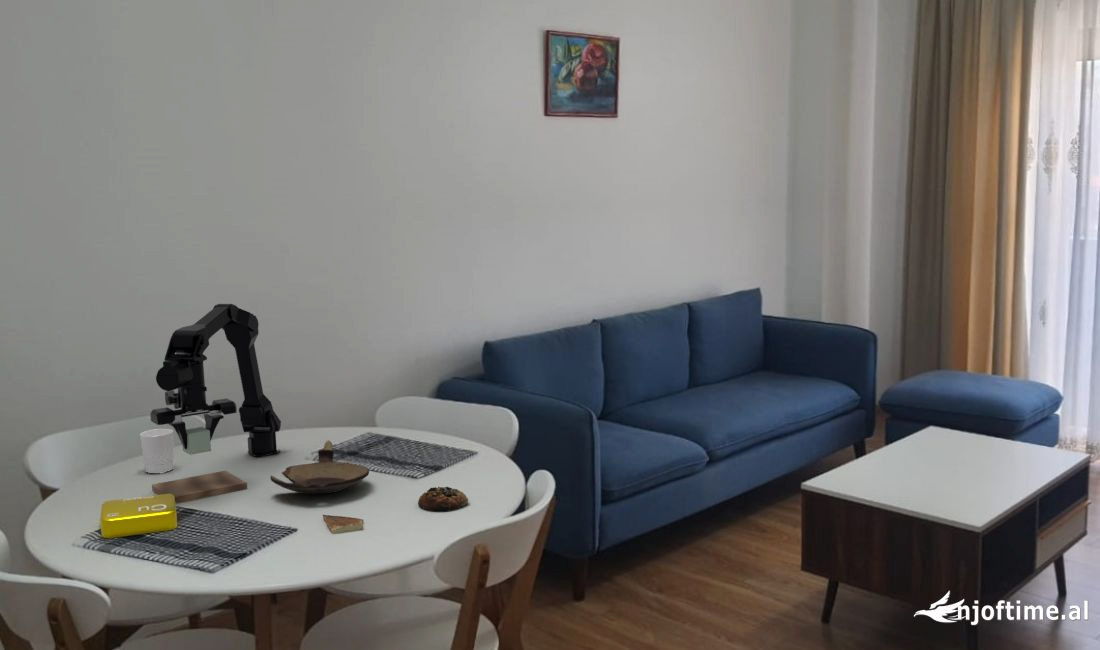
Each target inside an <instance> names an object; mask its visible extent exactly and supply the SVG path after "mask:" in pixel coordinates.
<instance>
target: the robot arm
mask: <svg viewBox="0 0 1100 650" xmlns="http://www.w3.org/2000/svg"><path fill="white" fill-rule="evenodd" d="M221 329H222V330H223V331H224V335H225V338H226V340H227V341H228V343H229V344H230V345H231V346H232V347H233V348H234V351H235V356H236V361H237V366H238V371H239V376H240V382H241V388H242V393H243V398H244V399H243V401H242V403H241V406H239V407H238V412H239V417H240V418H239V419H240V421H239V422H240V424H241V426H242V430H243V433H248V437H247V450H248V451H247V453H248V454H250V455H251V456H254V457H256V458H259V457H265V456H269V455H275V454H279V453H280V450H278V449H277V447H278V446H277V434H276V433H277V432H280V430H281V425H282V420H281V419H280V418H279V417H278V415H277V413H276V412H275V410H274V408H273V404H272V401H270V400H269V397H267V396H266V395H265V394H264V391H263V384H262V380H261V374H260V368H259V363H258V358H257V351H256V348H255V342H256V340H257V338H258V335H259V320H258V318H257V315H254V314H253V313H251V312H249V311H247V310H245V309H242V308H240V307H238V306H237V305H236V304H233V303H217V304H215V305H214V306H213V308H212V309H211V310H210V311H208V312H207V313H206V314H205V315H203V316H202V317H201V318H200V319H198V321H196V322H195V323H194V324H192V325H191V324H190V325H187V326H182V327H180V328H177V329H175V330H174V331H173V332H172V335H171V336H170V339H169V343H168V346H167V349H166V353H165V356H164V361H163V362H162V367H160V368H159V369H158V370H157V373H156V375H155V381H156V383H157V385H158V387H159V388H160V389H161V390H163V391H165V392H164V400H165V405H166V406H174V409H172V408H170V407H161V408H154V409H152V410H151V411H150V422H152V423H154V424H156V425H157V426H162V425H168V426H170V427H172V428H173V429H174V431H175V432H176V434H177V436H178V439H179V441H180V444H181V445H182V448H183V447H184V449H187V436H186V429H187V428H186V422H184V421H183V418H185V417H191V416H198V415H203V418H204V422H205V423H204V424H205V425H204V426H205V427H204V428H206V429H208V430H210V443H212V438H213V435H214V433H215V430H216V428H217V426H218V424H219V422H220V420H222V419H224V416H225V415H232V414H236V413H237V404H236V402H235V401H233V400H231V399H229V398H221V399H215V400H212V402H211V404H208V403H207V396H206V392H207V391H208V388H207V386H206V384H205V383H206V382H205V371H204V370H205V368H204V361H207V360H208V357H207V356H206V355H205V354H204V352H205V351H206V349H207V348H208V347H209V346H210V338H212V337H213V336H214V335H215V334H216V333H217V332H219V331H220V330H221ZM175 390H177V393H176V391H175ZM222 414H223V415H222Z"/></svg>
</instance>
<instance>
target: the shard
mask: <svg viewBox="0 0 1100 650" xmlns="http://www.w3.org/2000/svg"><path fill="white" fill-rule="evenodd" d="M322 519H323V521H324V522H325V523H326V525H327V526H328V529H329V530H330V532H331V533H332V535H335V534H341V533H347V532H355V531H356V532H357V531H360V530H361V529H362V527H363V525H364V519H361V518H359V517H358V518H357V517H350V516H340V515H329V514H322Z"/></svg>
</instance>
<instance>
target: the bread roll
mask: <svg viewBox="0 0 1100 650" xmlns="http://www.w3.org/2000/svg"><path fill="white" fill-rule="evenodd" d="M468 501H469V498H468V497H467V495H466V494H465V493H464V492H463V491H460V490H459V489H458V488H452V487H450V486H445V487H444V486H443V487H442V486H438V487H430V488H429V489H427V490H426V491H424V493H422V494H421V495H420V496H419V498H418V501H417V502H418V503H417V505H418V506H419V507H420V509H423V510H425V511H427V512H435V513H445V512H448V511H455V510H457V509H460V508H461V507H465V506H466V505H468Z"/></svg>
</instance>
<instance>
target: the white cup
mask: <svg viewBox="0 0 1100 650" xmlns="http://www.w3.org/2000/svg"><path fill="white" fill-rule="evenodd" d="M139 435H140V436H139V438H140V444H141V445H140V446H141V451H142V452H141V453H142V458H143V463H144V470H145V473H146V472H149V473H160V472H166V471H169V470H172V469H173V470H174V455H175V454H174V453H175V452H174V448H175V447H174V431H173V429H171V428H155V429H154V428H153V429H149V430H145V431H143V432H141V433H139ZM173 470H172V471H173ZM169 472H170V471H169ZM149 473H148V474H149ZM166 473H167V472H166ZM160 474H161V473H160Z"/></svg>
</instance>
